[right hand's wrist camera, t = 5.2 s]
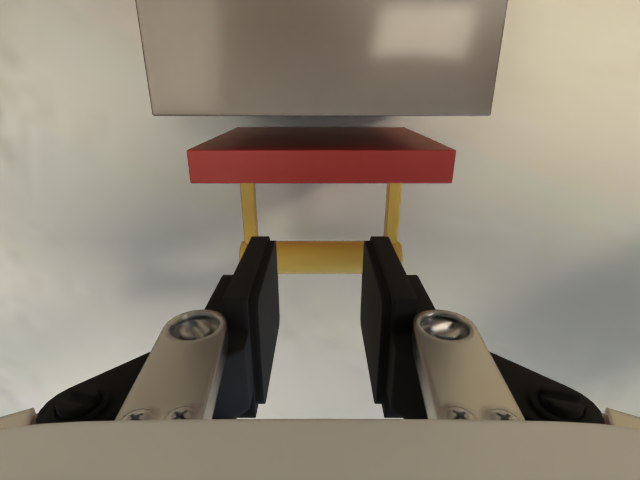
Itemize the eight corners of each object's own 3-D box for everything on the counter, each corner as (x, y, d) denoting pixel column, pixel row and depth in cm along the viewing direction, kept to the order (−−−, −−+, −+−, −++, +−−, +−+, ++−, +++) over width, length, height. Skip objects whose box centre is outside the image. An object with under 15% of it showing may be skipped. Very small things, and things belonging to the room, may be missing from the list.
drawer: (396, 236, 24) (436, 312, 16) (245, 236, 24) (205, 312, 16) (431, -219, 17) (541, -527, 8) (210, -220, 17) (102, -527, 8)
